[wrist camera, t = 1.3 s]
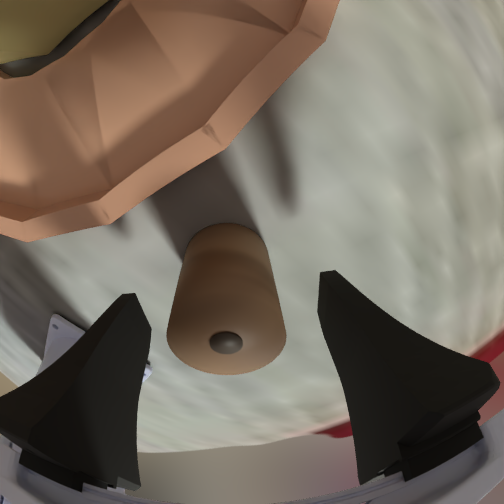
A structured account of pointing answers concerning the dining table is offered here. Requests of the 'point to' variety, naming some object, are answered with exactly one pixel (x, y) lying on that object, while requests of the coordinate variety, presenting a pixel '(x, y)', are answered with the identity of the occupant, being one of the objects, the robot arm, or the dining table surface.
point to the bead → (226, 303)
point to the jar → (39, 25)
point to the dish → (142, 105)
